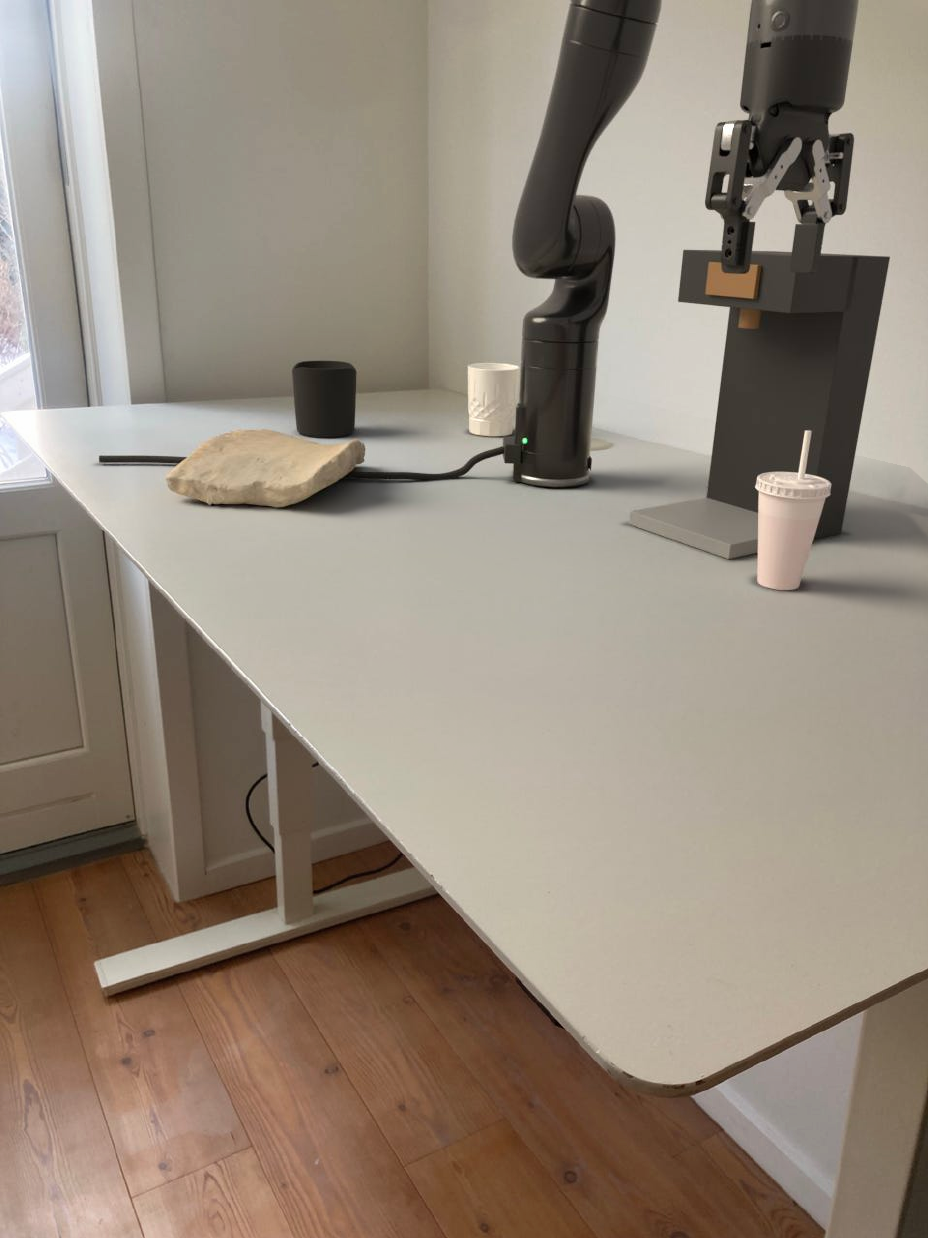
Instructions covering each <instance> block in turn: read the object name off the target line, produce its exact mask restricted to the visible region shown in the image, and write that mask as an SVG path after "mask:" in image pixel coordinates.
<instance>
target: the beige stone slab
mask: <svg viewBox="0 0 928 1238" xmlns="http://www.w3.org/2000/svg"><path fill="white" fill-rule="evenodd" d="M365 456H366V445H365V443H364V442H362V440H360V439H359V438H354V439H352V440H349V441H347V442H344V443H340V444H323V443H317V442H315V441H312V440H308V439H304V438H300V437H298V436H293V435H291V434H286V433H283V432H280V431H277V430H273V429H265V428H261V429H237V430H235V431H231V430H230V431H229V432H228V433H227V432H226V433H223V434H219V435H216V436H213V437H211V438H209V439H207V440H206V441H203V442H201V443H200V444H198V446H197V447H196V448H195V449H194V450H193V451H192V452H191V454H190V455H189V456H186V457H187V458H186V459H185V460H183V461H182V462H180V463H179V464H176V465H175V466H174V467H173V468H172V469H171V470H170V471H169V472H168V474H167V475H166V477H165V480H166V485H167V487H168V489H169V490H170V491H172V492H173V493H175V494H176V495H179V496H184V497H188V498H192V499H195V500H198V501H201V502H202V503H203V502H204V503H206V504H207V505H208V506H212V504H214V505H221V504H223V505H241V504H245V505H256V506H265V507H266V506H267V507H272V508H284V507H287V506H291V505H294V504H298V503H300V502H302V501H305V500H306V499H308V498H311V497H312V496H313V495H314V494H316V493H318V492H319V491H322V490H323V489H325V488H327V487H330V486H331V485H334V484H335V483H336V482H338V481H339V480H341V479H343V478H342V477H344V476H345V475H347V474H348V473H349V472H350V471H354V469H355V468H356V466H357V465H361V464H363V463H365Z"/></svg>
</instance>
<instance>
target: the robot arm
mask: <svg viewBox="0 0 928 1238" xmlns="http://www.w3.org/2000/svg"><path fill="white" fill-rule="evenodd" d="M662 3H663V1H662V0H570V3H569V6H568V11H567V15H566V19H565V25H564V29H563V33H562V38H561V44H560V50H559V54H558V58H557V59H558V60H557V65H556V70H555V74H554V79H553V83H552V87H551V90H550V94H549V98H548V103H547V107H546V111H545V115H544V119H543V123H542V128H541V131H540V135H539V139H538V141H537V145H536V148H535V151H534V154H533V157H532V161H531V164H530V168H529V170H528V173H527V177H526V180H525V183H524V186H523V190H522V192H521V196H520V199H519V202H518V206H517V209H516V213H515V217H514V221H513V227H512V235H511V249H512V255H513V256H512V257H513V260H514V262H515V266H516V267H517V269H518V270H519V272H520V273H521V274H522V275H524V276H525V277H527V278H529V279H534V280H554V283H553V287H552V290H551V293H550V295H549V296H548V297H547V299H546V300H544V301H543V302H542V303H541V304H539V305H538V306H536V307H534V308H532V309H530V310H529V311H528V312H526V313H525V314H524V315H523V316H524V317H523V319H522V329H521V331H522V332H521V352H520V354H521V355H520V371H519V395H518V402H517V403H516V410H515V420H514V421H515V423H514V425H515V426H514V436H513V435H512V436H511V435H507V436H502V445H501V446H498V447H495V448H492V449H487V450H485V451H482V452H480V453H478V454H476V455H473V456H472V457H471V458H470V459H468V461H466V462H465V464H464V465H462V466H461V467H459V468H458V469H455V470H451V471H447V472H442V473H425V472H409V471H362V470H361V471H360V470H352V471H350V472H349V473H348V474H347V475H345V476H344V477H342V478H341V479H359V480H406V481H407V480H409V481H411V480H412V481H422V482H423V481H424V482H427V481H441V480H453V479H457V478H460V477H463V476H464V475H466V474H468V473H469V472H470V471H471V470H472V469H473V467H474V466H475V465H476V464H479V463H480V462H482V461H485V460H488V459H490V458H493V457H494V458H495V457H498V456H501V455H502V459H503V462H504V464H512V482H515V483H517V482H518V483H523V484H527V485H532V486H536V487H537V486H538V487H546V488H571V487H572V488H573V487H577V486H578V487H579V486H582V485H586V484H587V483H589V481H590V472H592V462H593V459H592V457H591V449H592V448H591V447H592V435H593V434H592V433H593V423H594V422H593V421H594V409H595V408H594V407H595V395H596V381H597V371H598V370H597V368H598V366H597V365H598V356H599V354H598V353H599V345H600V343H599V342H600V341H599V340H600V331H601V328H602V324H603V323H604V320H605V318H606V315H607V312H608V308H609V302H610V301H609V300H610V293H611V286H612V277H613V269H614V263H615V255H616V254H615V253H616V239H617V238H616V236H617V235H616V225H615V219H614V216H613V212H612V211H611V209H610V207H609V205H608V204H607V203H606V202H605V200H603V199H601V198H599V197H598V196H594V195H589V194H588V195H587V194H577V192H578V189H579V186H580V182H581V179H582V176H583V172H584V170H585V167H586V164H587V162H588V159H589V157H590V155H591V153H592V151H593V149H594V148H595V145H596V144H597V142H598V140H599V139H600V138H601V136H602V135H603V133H604V132H605V131H606V130H607V128H608V127H609V126H610V124H611V123H612V122H613V120H614V119H615V118H616V117H617V115H618V114H619V112H620V111H621V110H622V109H623V107H624V106H625V105H626V103H627V102H628V101H629V99H630V97H631V96H632V94H633V93H634V92H635V90H636V88H637V87H638V85H639V84H640V81H641V79H642V77H643V75H644V72H645V70H646V67H647V64H648V60H649V57H650V53H651V49H652V46H653V42H654V38H655V35H656V31H657V26H658V23H659V19H660V15H661V11H662ZM858 8H859V0H751V3H750V9H749V10H750V11H749V18H748V28H747V35H746V47H745V53H744V54H745V55H744V61H743V72H742V79H741V80H742V81H741V89H740V90H741V91H740V100H739V107H740V110H741V111H742V112H743V113H746V114H749V115H748V119H736V120H735V119H734V120H727V121H719V122H718V123H717V124H716V126H715V129H714V135H713V141H712V142H713V143H712V149H711V155H710V163H709V171H708V176H707V177H708V178H707V184H706V190H705V191H706V192H705V199H704V206H705V208H706V209H707V210H708V211H714V212H716V213H718V214H719V215H720V216H719V217H720V219H722V220H723V231H722V239H721V249H720V250H721V265H722V266H721V268H722V271H723V272H724V273H731V274H746V273H747V272H748V271H749V269H750V263H751V255H752V251H753V245H754V238H755V237H754V236H755V229H756V221H751V220H753V219H754V218H755V216H756V214H757V212H758V211H759V209H760V207H761V206H762V204H763V203H764V201H765V200H766V198H768V197H770V196H771V195H773V194H774V192H775V191H780V192H781V191H782V192H783V193H784V197H785V198H786V200H788V201H790V202H791V203H792V206H793V209H794V214H795V216H796V219H797V222H798V223H796V224H795V226H794V231H793V232H794V234H793V239H792V240H793V242H792V249H791V252H792V255H791V262H790V270H791V271H792V272H793V273H815V272H816V271H817V269H818V263H819V261H820V256H821V253H822V249H823V241H824V234H825V229H826V224H828V223H829V222H830V221H831V219H832V218H834V217H835V216H842V215H844V214H845V212H846V210H847V206H848V197H849V189H850V188H849V187H850V180H851V170H852V162H853V154H854V153H853V152H854V145H855V135H854V134H853V133H852V132H843V133H832V134H831V133H830V131H829V119H830V118H831V116H832V114H833V113H836V112H837V113H838V112H839V111H840V110H841V109H842V108H843V107H844V104H845V101H846V95H847V94H846V93H847V88H848V87H847V86H848V80H849V74H850V73H849V72H850V66H851V59H852V51H853V45H854V38H855V29H856V24H857V16H858ZM728 175H729V176H728ZM726 176H728V183H727V189H726V191H725V192H724V191H723V188H724V180H725V177H726ZM831 182H832V183H833V184H834V189H833V190H834V191H833V198H829V196H828V192H829V191H830V190H831V187H832V186H831ZM744 199H745V200H744ZM809 201H811V204H810V203H809ZM187 457H188V456H177V455H176V456H173V455H98V462H99V463H100V464H102V463H103V464H104V463H105V464H108V463H109V464H112V463H113V464H118V463H119V464H120V463H121V464H125V463H126V464H128V463H129V464H134V463H136V464H137V463H138V464H139V463H141V464H146V463H147V464H176V465H178V464H179V463H180V462H182V461H183V460H185V459H186V458H187Z"/></svg>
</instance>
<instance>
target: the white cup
mask: <svg viewBox="0 0 928 1238" xmlns="http://www.w3.org/2000/svg"><path fill="white" fill-rule="evenodd" d="M520 371H521V366H519V365H516V364H510V363H500V362H499V363H498V362H478V363H470V364H467V408H468V409H467V411H468V429H469V431H468V432H469V433H471V434H472V435H476V436H482V437H503V436H511V435H513V433H514V432H513V431H514V424H515V423H514V421H515V417H516V406H517V404H518V390H519V382H520Z"/></svg>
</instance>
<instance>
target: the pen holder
mask: <svg viewBox="0 0 928 1238" xmlns="http://www.w3.org/2000/svg"><path fill="white" fill-rule="evenodd" d="M291 377H292V389H293V403H294V404H293V405H294V414H295V415H294V416H295V417H294V418H295V428H296V432H298V434H299V435H302V436H304V437H309V438H310V437H311V438H326V439H328V438H342V437H348V436H350V435H352V434H353V433H354V432H355V427H356V403H357V401H356V400H357V369H356V368H355V366H354V365H353V364H352V363H350V362H346V361H342V360H341V361H339V360H305V361H303V360H302V361H300V362H297V363H295V364H294V366H293V367H292V370H291Z"/></svg>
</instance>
